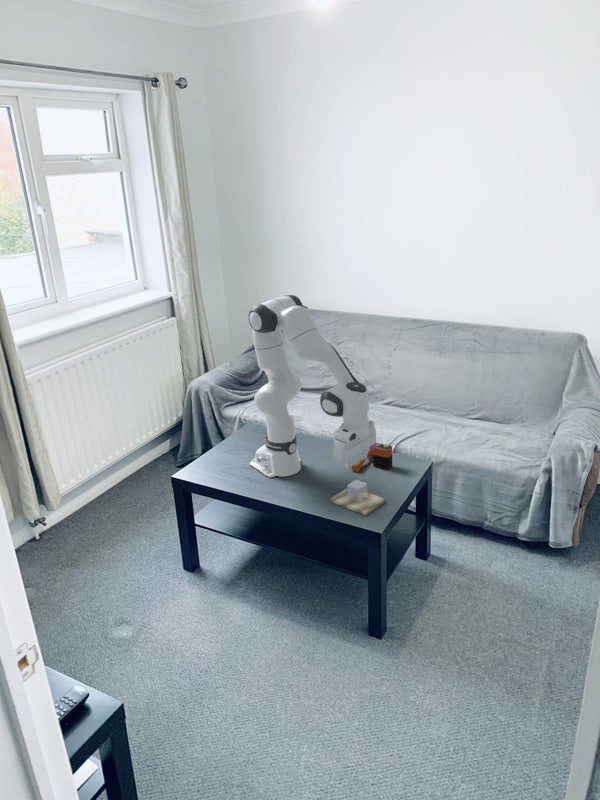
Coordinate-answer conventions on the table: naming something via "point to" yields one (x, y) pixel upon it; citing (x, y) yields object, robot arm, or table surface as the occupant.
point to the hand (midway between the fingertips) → (355, 463)
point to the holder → (361, 508)
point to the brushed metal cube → (357, 491)
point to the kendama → (359, 464)
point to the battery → (382, 456)
